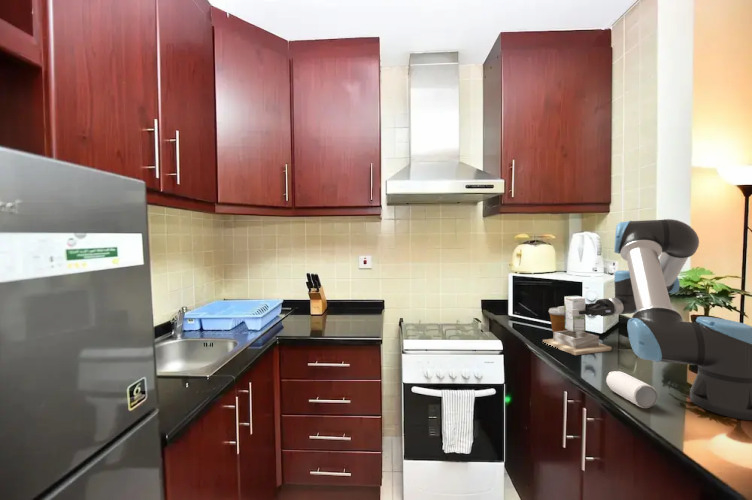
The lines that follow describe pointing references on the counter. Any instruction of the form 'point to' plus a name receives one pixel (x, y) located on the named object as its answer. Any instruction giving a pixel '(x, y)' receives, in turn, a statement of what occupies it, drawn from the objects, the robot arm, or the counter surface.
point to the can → (632, 389)
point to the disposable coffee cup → (557, 320)
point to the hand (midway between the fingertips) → (564, 311)
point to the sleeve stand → (577, 342)
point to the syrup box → (574, 321)
